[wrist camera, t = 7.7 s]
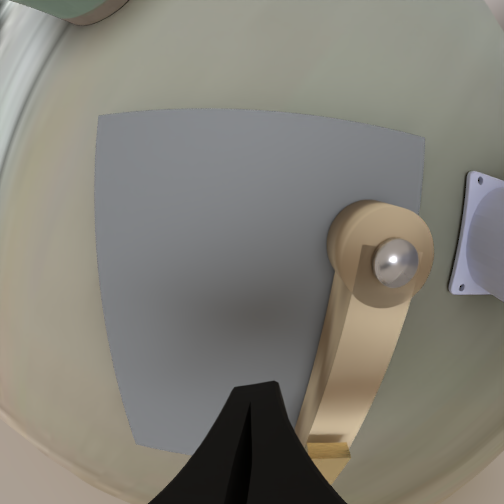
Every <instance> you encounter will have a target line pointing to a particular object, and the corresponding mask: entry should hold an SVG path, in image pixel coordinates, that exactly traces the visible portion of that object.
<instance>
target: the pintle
mask: <svg viewBox="0 0 504 504" xmlns="http://www.w3.org/2000/svg"><path fill="white" fill-rule="evenodd" d="M418 261H419V259H418V253H417V250H416V248H415V247H414V246H413V245H412V244H411V243H410V242H408V241H406V240H404V239H402V238H390V239H388V240H386V241H384V242H383V243H382V244H381V245H380V246H379V247H378V248H377V250H376V251H375V253H374V256H373V260H372V269H373V273H374V275H375V277H376V278H377V279H378V280H379V281H380V282H381V283H382V284H383V285H384V286H386V287H389V288H398V287H401V286H404V285H405V284H407V283H408V282H409V281H410V280H411V279H412V278H413V276H414V275H415V273H416V271H417V268H418Z"/></svg>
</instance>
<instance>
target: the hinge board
mask: <svg viewBox="0 0 504 504" xmlns="http://www.w3.org/2000/svg"><path fill="white" fill-rule="evenodd" d="M424 152H425V138H424V137H421V136H417V135H413V134H409V133H405V132H401V131H397V130H393V129H388V128H384V127H379V126H374V125H369V124H364V123H359V122H353V121H347V120H341V119H335V118H328V117H321V116H314V115H306V114H297V113H287V112H276V111H263V110H245V109H166V110H148V111H136V112H125V113H115V114H107V115H99V116H98V127H97V139H96V155H95V192H94V196H95V233H96V250H97V262H98V273H99V282H100V290H101V298H102V305H103V312H104V319H105V325H106V330H107V336H108V341H109V346H110V351H111V356H112V361H113V365H114V370H115V374H116V378H117V382H118V386H119V390H120V394H121V397H122V401H123V405H124V408H125V412H126V415H127V418H128V421H129V425H130V428H131V431H132V434H133V437H134V440H135V443H136V444H138V445H142V446H146V447H150V448H155V449H160V450H165V451H170V452H175V453H181V454H187V455H193V454H194V453H195V451H196V450H197V448H198V447H199V446H200V444H201V443H202V441H203V440H204V438H205V437H206V435H207V434H208V432H209V430H210V429H211V427H212V425H213V424H214V422H215V421H216V419H217V417H218V415H219V414H220V412H221V410H222V408H223V406H224V404H225V403H226V401H227V399H228V397H229V395H230V393H231V391H232V389H233V388H234V387H237V386H244V385H250V384H257V383H263V382H268V381H276V382H278V383H279V386H280V389H281V393H282V397H283V400H284V404H285V408H286V411H287V415H288V418H289V421H290V423H291V425H292V427H293V429H294V431H295V427H296V423H297V420H298V417H299V414H300V411H301V407H302V404H303V401H304V397H305V394H306V390H307V387H308V383H309V380H310V376H311V373H312V369H313V365H314V361H315V358H316V354H317V350H318V346H319V342H320V338H321V333H322V329H323V325H324V321H325V316H326V312H327V307H328V303H329V298H330V293H331V288H332V283H333V278H334V273H335V270H334V268H333V267H332V265H331V263H330V261H329V258H328V254H327V236H328V232H329V229H330V226H331V224H332V222H333V221H334V219H335V218H336V216H337V215H338V214H339V213H340V212H341V211H342V210H343V209H344V208H346V207H347V206H348V205H350V204H352V203H354V202H357V201H361V200H377V201H381V202H384V203H388V204H391V205H395V206H398V207H402V208H405V209H408V210H410V211H413V212H414V213H416V214H417V215H418V216H419V209H420V200H421V191H422V181H423V169H424Z"/></svg>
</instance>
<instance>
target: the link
mask: <svg viewBox="0 0 504 504" xmlns="http://www.w3.org/2000/svg"><path fill="white" fill-rule="evenodd" d="M390 238H402V239H404V240H406V241H408V242H410V243H411V244H412V245H413V246H414V247H415V248H416V250H417V253H418V259H419V261H418V268H417V271H416V273H415V275H414V276H413V278H412V279H411V280H410V281H409V282H408V283H407V284H405V285H404V286H401V287H398V288H389V287H386V286H384V285H383V284H382V283H381V282H380V281H379V280H378V279H377V278H376V277H375V275H374V273H373V269H372V260H373V256H374V253H375V251H376V250H377V248H378V247H379V246H380V245H381V244H382V243H383V242H384V241H386V240H388V239H390ZM327 254H328V258H329V261H330V263H331V265H332V267H333V268H334V270H335V273H334V278H333V283H332V288H331V293H330V298H329V303H328V307H327V312H326V316H325V321H324V325H323V329H322V333H321V338H320V342H319V346H318V350H317V354H316V358H315V361H314V365H313V369H312V373H311V376H310V380H309V383H308V387H307V390H306V394H305V397H304V401H303V404H302V407H301V411H300V414H299V417H298V420H297V423H296V427H295V433H296V435H297V436H298V438H299V440H300V442H301V443H302V445H303V447H305V445H306V443H340V442H347V445H348V448H350V446H351V444H352V442H353V440H354V438H355V436H356V435H357V433H358V431H359V429H360V427H361V425H362V423H363V421H364V419H365V417H366V415H367V413H368V411H369V409H370V407H371V404H372V402H373V400H374V398H375V396H376V393H377V391H378V389H379V387H380V384H381V382H382V380H383V377H384V375H385V372H386V370H387V367H388V365H389V362H390V360H391V357H392V355H393V352H394V349H395V347H396V344H397V341H398V338H399V335H400V332H401V329H402V326H403V323H404V320H405V317H406V314H407V311H408V308H409V304H410V301H411V298H412V297H413V296H414V295H415V294H416V293H417V292H418V291H419V290H420V289H421V288H422V286H423V285H424V283H425V282H426V280H427V278H428V276H429V273H430V271H431V268H432V264H433V259H434V244H433V239H432V235H431V232H430V230H429V228H428V226H427V225H426V223H425V222H424V221H423V219H422V218H421V217H419V216H418V215H417V214H416V213H414V212H413V211H410V210H408V209H405V208H402V207H398V206H395V205H391V204H388V203H384V202H381V201H377V200H361V201H357V202H354V203H352V204H350V205H348V206H347V207H346V208H344V209H343V210H342V211H341V212H340V213H339V214H338V215H337V216H336V218H335V219H334V221H333V222H332V224H331V226H330V229H329V232H328V236H327Z"/></svg>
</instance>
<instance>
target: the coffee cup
mask: <svg viewBox="0 0 504 504" xmlns="http://www.w3.org/2000/svg"><path fill="white" fill-rule="evenodd" d="M10 1H13V2H16V3H19V4H23V5H26V6H28V7H31V8H34V9H37V10H40V11H42V12H45V13H48V14H50V15H53V16H55V17H58V18H61V19H63V20H66V21H68V22H70V23H73V24H75V25H89V24H93V23H95V22H98V21H100V20H102V19H104V18H106V17H108V16H110V15H111V14H113V13H114V12H115V11H117V10H118V9H119V8H121V7H122V6H123V5H124V4H125V3H126V2H127V1H128V0H10Z"/></svg>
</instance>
